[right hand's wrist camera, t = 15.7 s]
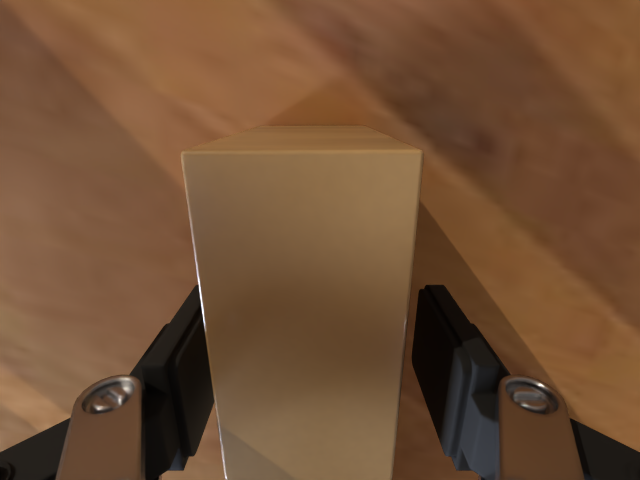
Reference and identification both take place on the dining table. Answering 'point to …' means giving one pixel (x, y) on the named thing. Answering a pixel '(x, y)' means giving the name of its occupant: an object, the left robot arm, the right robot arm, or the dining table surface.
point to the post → (305, 295)
